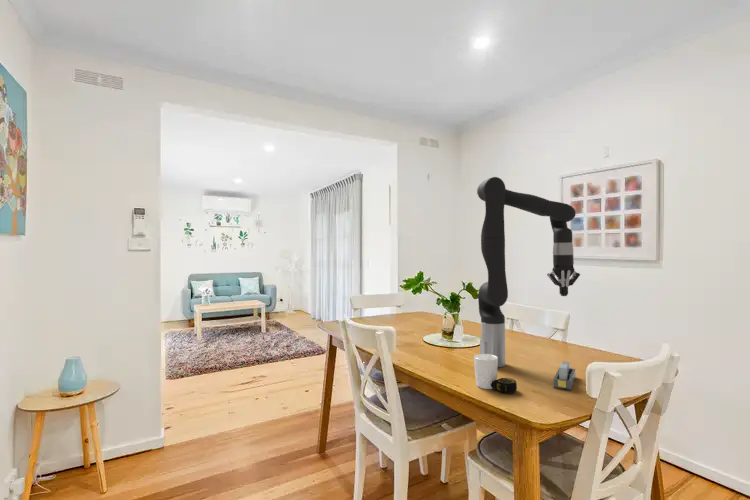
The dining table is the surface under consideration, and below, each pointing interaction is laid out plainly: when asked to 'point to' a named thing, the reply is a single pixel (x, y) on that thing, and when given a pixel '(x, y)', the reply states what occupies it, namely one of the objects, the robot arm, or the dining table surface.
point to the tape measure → (504, 385)
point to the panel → (563, 372)
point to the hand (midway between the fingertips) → (563, 295)
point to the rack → (564, 383)
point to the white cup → (485, 370)
